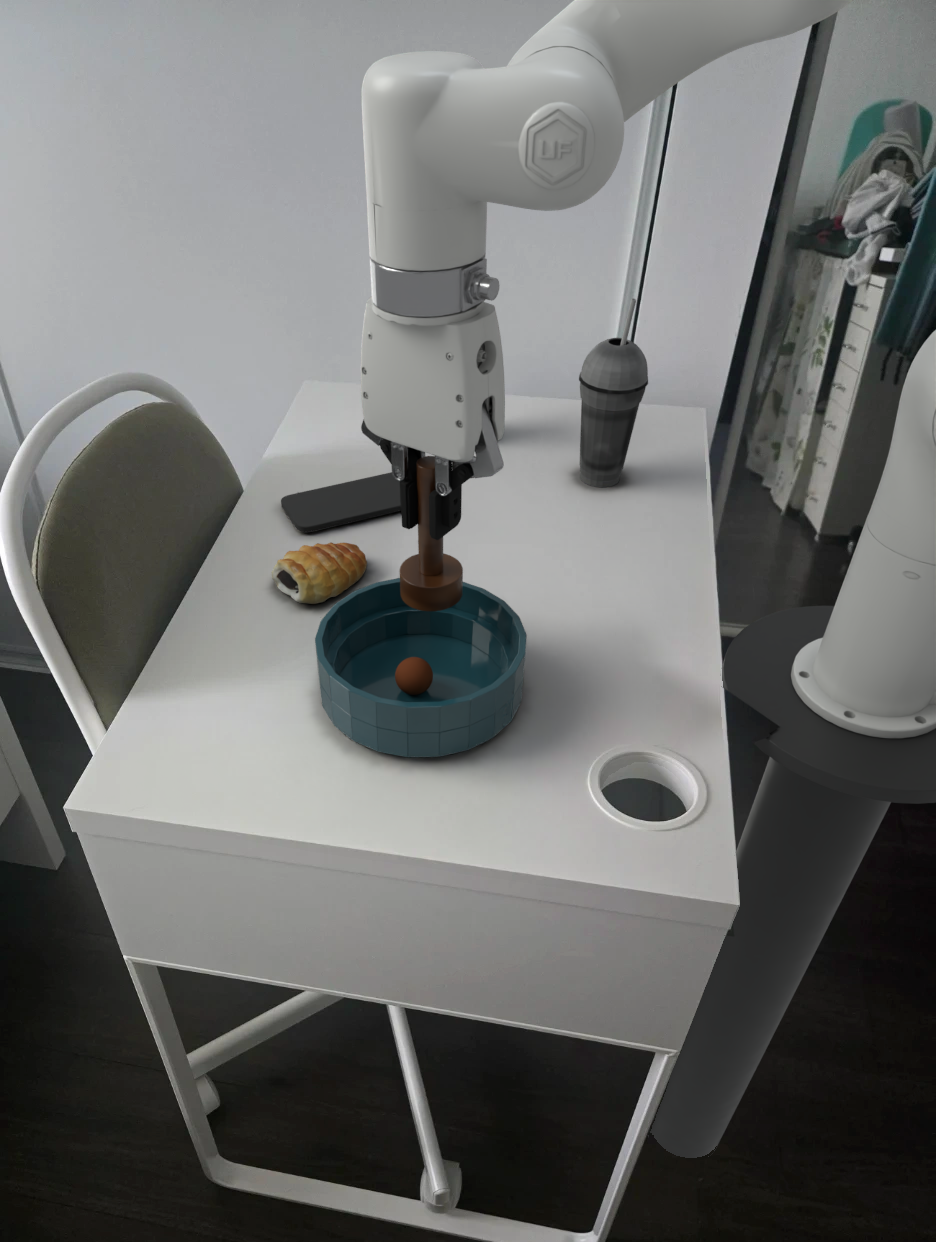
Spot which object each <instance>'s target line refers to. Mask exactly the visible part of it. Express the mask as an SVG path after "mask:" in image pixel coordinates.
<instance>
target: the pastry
mask: <svg viewBox="0 0 936 1242" xmlns="http://www.w3.org/2000/svg"><path fill="white" fill-rule="evenodd" d="M367 566H368V561H367V557H366V554H365V553H364V552H363V551H362V550H361V549H360V547H359V546H358V545H357V544H354V543H349V542H337V543H334V542H330V541H329V542H328V543H325V544H324V543H315V544H314V545H308V544H304V545H302V546H300V547H299V549H298V550H288V551H287V552H286V553H285V554H284V556H283V557H282V558H279V559H278V560H277V561H276V563H275V565H274V566H273V569H272V571H271V579H272V580H273V581H274V583H275V584H276V587H277V589H278V590H279V591H280V592H282V593H284V594H286V595H287V596H289V597H291V599H293V600H294V601H295V602H297V603H300V604H309V605H317V604H320V603H325V602H326V600H328V599H330V598H332V597H333V598H335V597H337V596H338V595H340V594H341V595H342V593H343V592H344V591H345V590H348V589H349V588H350V587H351V586H353V585H354V584H355V583H357V582H358V581H359V580H360V579H361V578H362V577H363V575H364V574H365V572H366V570H367Z"/></svg>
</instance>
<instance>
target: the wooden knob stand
mask: <svg viewBox="0 0 936 1242" xmlns="http://www.w3.org/2000/svg"><path fill="white" fill-rule="evenodd" d="M416 464H417V507H418V524H417V543H418V546H417V547H418V549H417V550H418V553H417V554H414V555H411V556H409V557H408V558H407V559H405V560H404V561H402V563H401V565H400V567H399V578H400V594H401V598H402V600H403V601H404V602H405V603H406V604H407V605H408V606H410V607H412V608H414V609H417V610H421V611H441V610H445V609H448V608H450V607H452V606H454V605H455V604H457V603H458V602H459V600H460V599H461V597H462V591H463V582H464V581H463V580H464V567H463V565H462V563H461V562H460V561H459V560H458V558H456V557H454V556H452V555H451V554H447V553H444V536H443V537H442V538H441V539H439V540H435V539H433V538H431V536H430V530H429V495H430V493H431V492H432V491H434V490H435V489H436V488H435V455H425V457H422V458H420V459H418V460H417V463H416Z"/></svg>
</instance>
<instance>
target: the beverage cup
mask: <svg viewBox="0 0 936 1242" xmlns="http://www.w3.org/2000/svg"><path fill="white" fill-rule="evenodd" d="M636 303H637V299H636V298H635V297H634V298H631V299H630V303H629V306H628V310H627V315H626V320H625V323H624V327H623V332H622V336H621V337H611V338H607V339H604V340H602V341H601V342H599V343H598V344H596V345H595V346H594V347H593V348H592V349H591V350H590V351H589V352H588V354H587V355H586V357H585V359H584V361H583V363H582V366H581V371H580V372H579V375H578V381H579V393H580V399H581V403H580V405H581V406H580V407H581V409H580V436H579V437H580V439H579V442H580V443H579V479H580V480H581V482H583V483H584V484H585V485H588V486H591V487H595V488H608V487H609V488H610V487H613V486H615V485H617V484H618V483H619V482H620V478H621V475H622V473H623V472H622V471H623V469H624V466H625V462H626V460H627V459H626V458H627V454H628V450H629V446H630V443H631V438H632V435H633V430H634V426H635V423H636V419H637V414H638V411H639V407H640V404H641V402H642V400H643V398H644V394H645V392H646V388H647V386H648V385H649V376H648V375H649V374H648V373H649V370H648V369H649V368H648V361H647V359H646V356H645V354H644V352H643V351H642V349H641V348H640V347H639V346H638V344H636V343H635V342H634V341H632V340H630V339H628V337H629V332H630V329H631V324H632V320H633V316H634V312H635V307H636Z"/></svg>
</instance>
